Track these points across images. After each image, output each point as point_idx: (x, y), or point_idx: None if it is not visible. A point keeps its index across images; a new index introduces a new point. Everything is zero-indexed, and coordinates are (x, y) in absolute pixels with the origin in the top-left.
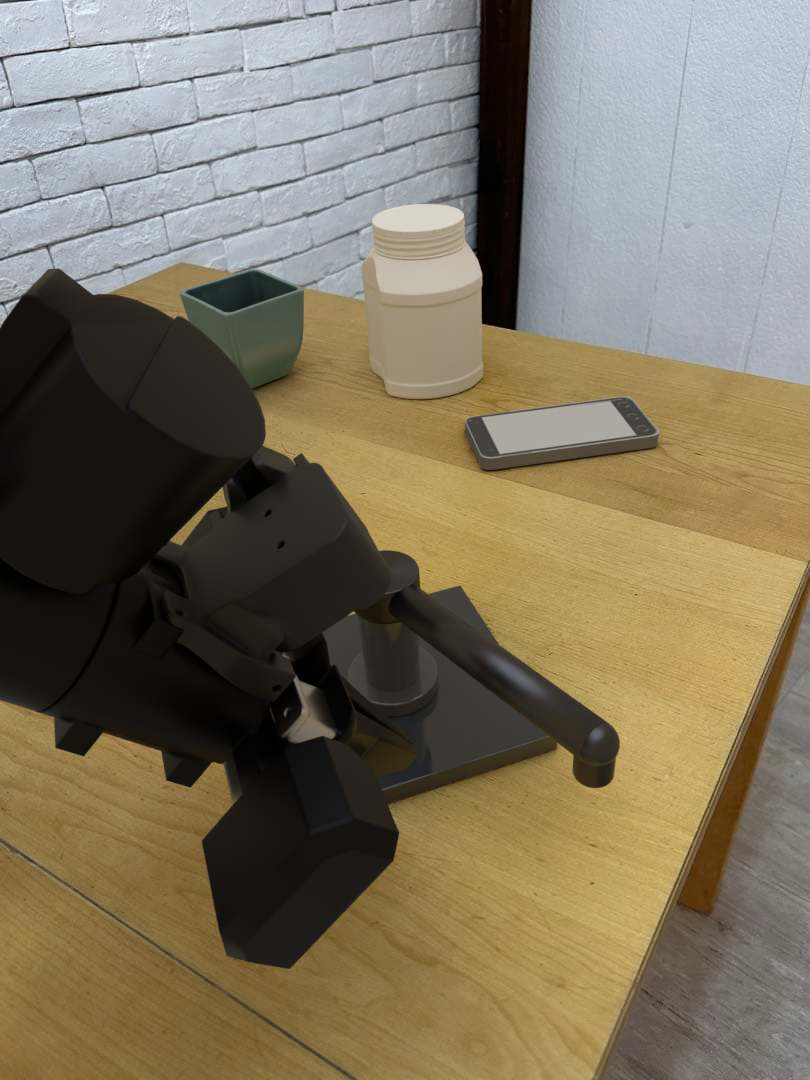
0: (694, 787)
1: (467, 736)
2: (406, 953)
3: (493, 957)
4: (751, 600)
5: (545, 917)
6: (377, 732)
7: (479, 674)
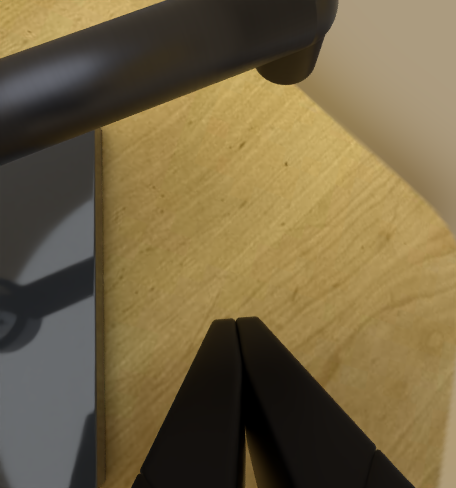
0: None
1: (50, 223)
2: None
3: (344, 293)
4: None
5: (312, 224)
6: (350, 450)
7: (59, 127)
